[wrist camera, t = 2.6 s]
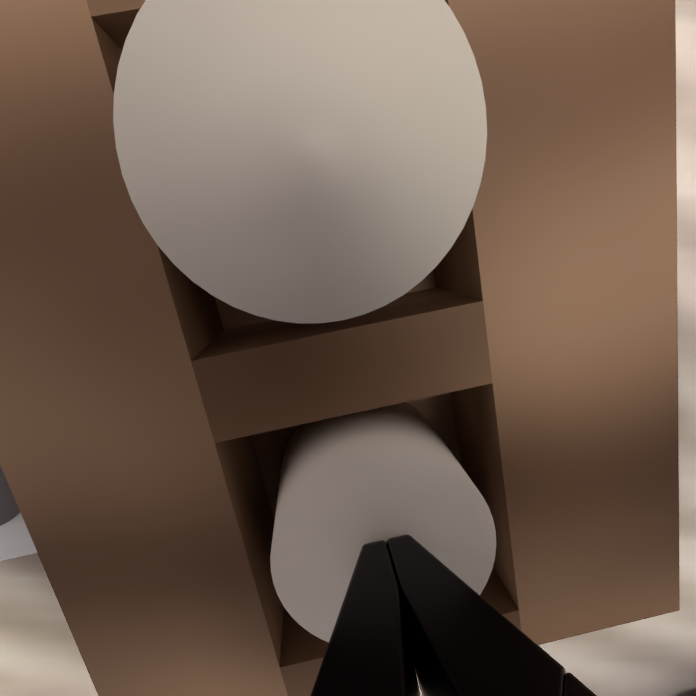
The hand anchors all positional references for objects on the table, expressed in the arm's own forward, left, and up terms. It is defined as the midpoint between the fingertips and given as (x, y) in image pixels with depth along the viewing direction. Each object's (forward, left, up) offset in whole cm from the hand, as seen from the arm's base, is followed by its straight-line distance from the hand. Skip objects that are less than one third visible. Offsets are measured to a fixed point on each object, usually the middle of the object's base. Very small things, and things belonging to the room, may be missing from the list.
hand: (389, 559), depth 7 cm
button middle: (+7, 0, -2) cm, 7 cm away
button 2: (0, 0, -3) cm, 3 cm away
